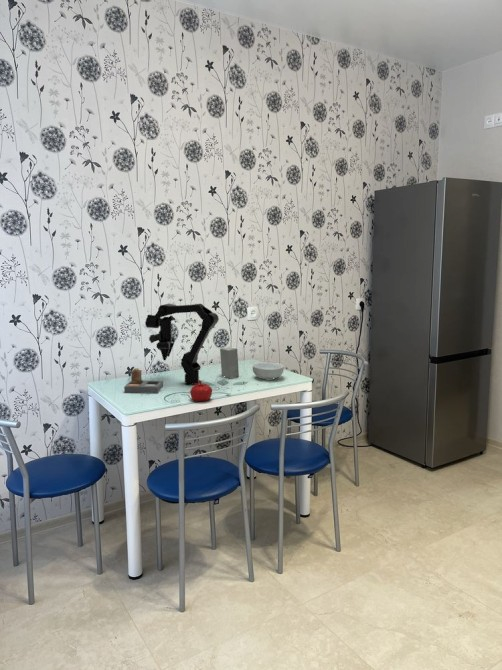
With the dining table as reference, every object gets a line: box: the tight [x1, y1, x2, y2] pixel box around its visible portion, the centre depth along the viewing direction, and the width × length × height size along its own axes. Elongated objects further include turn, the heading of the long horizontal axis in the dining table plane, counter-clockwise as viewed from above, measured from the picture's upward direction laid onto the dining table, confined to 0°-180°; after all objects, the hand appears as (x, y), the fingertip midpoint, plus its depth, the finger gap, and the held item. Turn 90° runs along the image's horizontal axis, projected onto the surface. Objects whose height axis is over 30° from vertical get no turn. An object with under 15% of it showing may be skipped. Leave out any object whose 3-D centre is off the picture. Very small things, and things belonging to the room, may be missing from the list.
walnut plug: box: [130, 367, 142, 384], centre depth 248 cm, size 4×4×9 cm
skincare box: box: [219, 346, 240, 379], centre depth 273 cm, size 8×7×16 cm
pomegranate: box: [189, 379, 213, 402], centre depth 231 cm, size 10×10×9 cm
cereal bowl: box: [252, 361, 285, 380], centre depth 271 cm, size 17×17×7 cm
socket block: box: [123, 379, 164, 394], centre depth 247 cm, size 16×12×3 cm
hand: (166, 358), depth 262 cm, fingers open, 9 cm apart
